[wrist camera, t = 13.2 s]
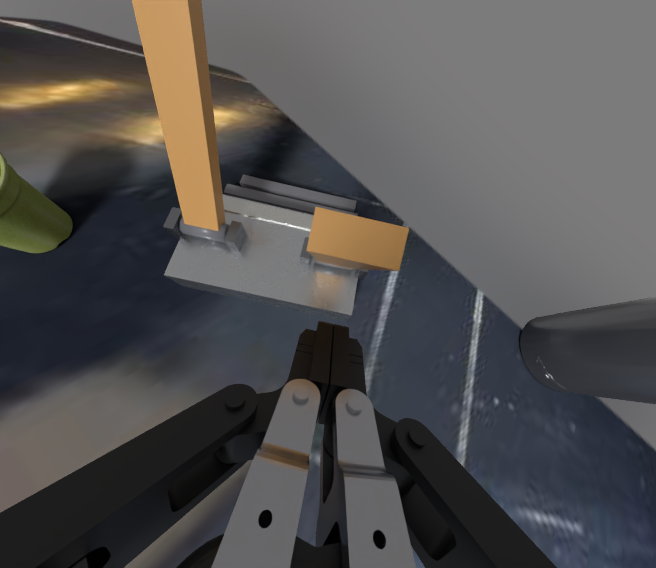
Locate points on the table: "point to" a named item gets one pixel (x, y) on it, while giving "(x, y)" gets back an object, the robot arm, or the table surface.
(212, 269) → the breaker box
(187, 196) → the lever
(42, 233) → the plant pot
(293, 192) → the stepped grey slab
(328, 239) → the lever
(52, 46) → the table surface
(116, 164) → the table surface
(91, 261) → the table surface
